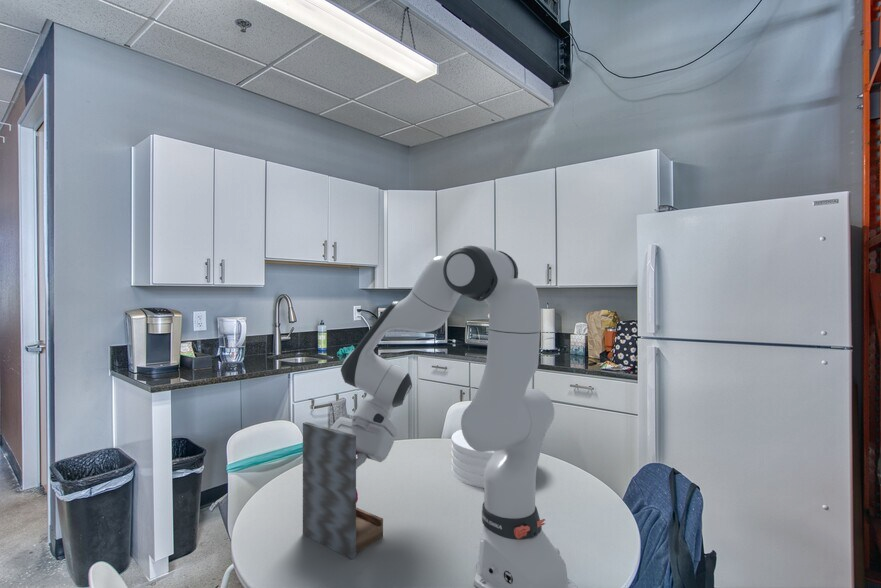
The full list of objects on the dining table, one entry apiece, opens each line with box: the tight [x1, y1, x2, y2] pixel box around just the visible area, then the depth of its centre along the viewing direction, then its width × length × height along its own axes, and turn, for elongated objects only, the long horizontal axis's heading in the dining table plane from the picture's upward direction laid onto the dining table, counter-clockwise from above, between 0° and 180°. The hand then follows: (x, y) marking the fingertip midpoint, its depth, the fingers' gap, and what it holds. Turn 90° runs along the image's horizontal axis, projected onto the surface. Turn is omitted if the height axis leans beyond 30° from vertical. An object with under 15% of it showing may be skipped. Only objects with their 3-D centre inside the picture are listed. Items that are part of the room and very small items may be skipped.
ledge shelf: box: [302, 421, 384, 560], centre depth 111 cm, size 18×11×28 cm, turn 54°
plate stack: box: [450, 429, 494, 489], centre depth 152 cm, size 28×28×12 cm
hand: (341, 468), depth 111 cm, fingers closed on pepper mill, 5 cm apart
